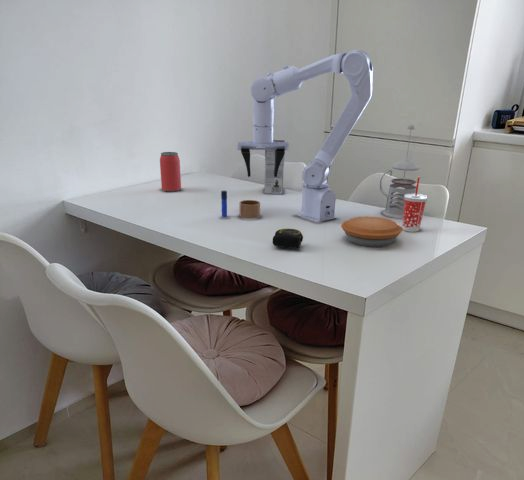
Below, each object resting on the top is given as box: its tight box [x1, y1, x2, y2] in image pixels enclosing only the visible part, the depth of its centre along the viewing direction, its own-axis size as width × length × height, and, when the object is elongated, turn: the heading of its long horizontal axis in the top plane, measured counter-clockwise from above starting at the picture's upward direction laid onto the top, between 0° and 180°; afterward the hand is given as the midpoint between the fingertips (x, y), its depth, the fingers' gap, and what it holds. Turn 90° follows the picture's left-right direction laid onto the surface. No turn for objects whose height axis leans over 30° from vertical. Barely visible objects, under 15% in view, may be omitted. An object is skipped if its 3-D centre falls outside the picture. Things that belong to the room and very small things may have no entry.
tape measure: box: [272, 228, 304, 250], centre depth 133 cm, size 7×7×4 cm
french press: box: [379, 124, 421, 219], centre depth 157 cm, size 10×12×25 cm
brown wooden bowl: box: [238, 199, 261, 219], centre depth 156 cm, size 6×6×4 cm
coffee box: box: [264, 139, 286, 195], centre depth 183 cm, size 9×6×16 cm
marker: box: [220, 190, 228, 218], centre depth 154 cm, size 2×2×8 cm
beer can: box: [159, 151, 182, 193], centre depth 182 cm, size 7×7×12 cm
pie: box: [340, 215, 404, 248], centre depth 138 cm, size 16×16×5 cm
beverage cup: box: [401, 176, 428, 233], centre depth 146 cm, size 6×6×14 cm
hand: (262, 176), depth 157 cm, fingers open, 7 cm apart
